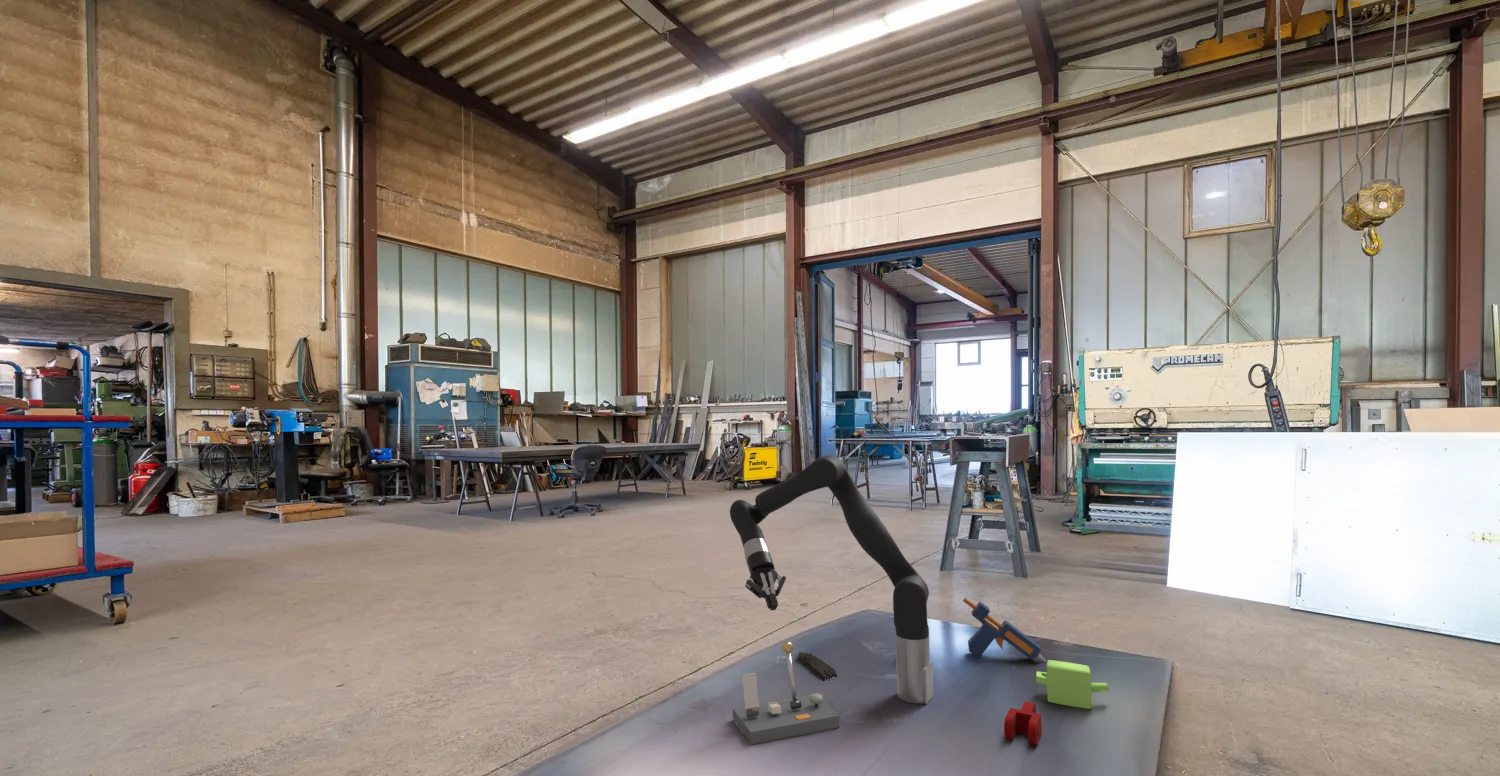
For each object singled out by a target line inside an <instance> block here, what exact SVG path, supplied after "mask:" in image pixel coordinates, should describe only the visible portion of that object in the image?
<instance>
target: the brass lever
mask: <svg viewBox="0 0 1500 776" xmlns="http://www.w3.org/2000/svg"><path fill="white" fill-rule="evenodd" d="M781 649H782V651H783V652H784V653H785V656H786V662H787V669H788V675H789V684H790V691H791V692H790V693H791V698H792V699H793V701H790V707H791V709H798V708H801V701H800V700H797V697H798V695H797V694H798V693H797V688H796V684H795V675H794V668H793V660H792V652H793V650H794V645H793V642H790V641H789V640H786V641H784V642H782V645H781Z"/></svg>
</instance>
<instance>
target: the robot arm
mask: <svg viewBox="0 0 1500 776" xmlns="http://www.w3.org/2000/svg"><path fill="white" fill-rule="evenodd" d="M823 488H828V489H829V490H830V491H831V493H832V494H833V496H834V497H835V498H836V500H837V502H838V503H839V505H840V507H841V510H842V513H843V516H844V519H845V521H846V524H847V526H848V528H849V531H850V533H851V534H852V535H853V537H854V538H855V540H856V541H857V543H858V544H859V546H860V547H861V548H862V550H863V551H864V552H865V553H866V554H867V555H868V556H869V557H870V558H872V560H873V561H875V562H876V563H877V564H878V565H879V566H880V567H881V568H882V569H883V570H884V572H885V574H886V575H887V577H888V578H889V580H890V581H891V583H892V585H893V587H894V589H893V594H892V606H893V607H892V608H893V610H892V611H893V624H894V627H895V629H894V630H895V654H896V655H895V657H896V662H895V663H896V690H897V691H896V693H897V698H898V699H900V700H901V701H903V702H906V703H909V704H925V705H927V704H928V703H929V702H930V701H931V699H933V697H934V681H933V680H934V679H933V678H934V677H933V673H934V672H933V662H932V661H930V660H931V659H930V658H931V655H930V626H929V624H928V605H927V604H928V603H927V602H928V599H929V597H930V592H929V587H928V584H927V583H926V581H925V580H924V579H923V577H922V576H921V575H920V574H919V573H918V571H917V570H916V569H915V568H914V566H912V565H911V563H910V562H909V561H908V560H907V558H906V557H905V556H904V554H903V553H902V551H901V549H900V548H899V545H897V543H896V541H895V540H894V538H893V537H892V535H891V534H890V532H889V530H888V529H887V527H886V526H885V525H884V523H883V522H882V520H881V519H880V517H879V516H878V514H877V513H876V511H875V510H874V509H873V508H872V506H871V505H870V503H869V502H868V501H867V499H866V498H865V496H864V495H863V494H862V493H861V492H860V489H858V487H857V485H856V484H855V482H854V480H853V478H852V477H851V474H850V473H849V471H848V469H847V468H846V466H845V464H844V462H843V461H842V460H841V459H840V458H839V457H837V456H835V455H832V454H827V455H823V456H819V457H818V458H815V460H813V461H812V462H811V463H810V464H809V465H808V466H806V467H804V469H802V470H801V471H800V472H798V473H797V474H795V475H794V476H791V477H790V478H788V479H787V480H784V481H781V482H780V483H778V484H777V483H776V484H775V485H773V486H771V487H769V488H768V489H766V490H763V491H762V492H760V493H759V494H757V495H756V496H755V500H754V502H755V504H751V503H749V502H747V501H746V500H744V499H737V500H735V501H733V502H732V503H731V506H730V509H729V516H730V521H731V522H732V524H733V526H734V528H735V530H736V532H737V534H738V535H739V537H740V540H741V544H742V548H743V553H744V554H743V555H744V558H745V561H746V564H747V568H748V571H749V574H750V576H749V578H748V579H746V582H745V585H744V586H745V588H746V589H748V590H749V591H750V592H751V593H752V594H754V595H755V597H757V598H759V599H761V598H762V599H764V600H765V603H766V607H767V608H768V609H769V610H770V611H776V610H777V608H778V607H779V602H778V599H777V597H778V596H780V592H781V590H782V589H783V586H784V584H785V582H786V580H787V577H786V576H785V575H783V576H782V575H779V573H778V572H777V570H776V568H775V564H774V561H773V558H772V555H771V553H770V552H771V551H770V550H769V547H768V544H767V542H766V539H765V536H764V533H763V530H762V528H761V527H760V526H759V524H760V523H762V521H764V519H766V518H767V517H768V516H769V515H770V514H771V513H774V512H775V511H778V510H780V509H781V508H784V507H785V506H787V505H788V504H790V503H792V502H793V501H795V500H796V499H798V498H799V497H802V496H803V495H805V494H808V493H811V492H813V491H817V490H820V489H823ZM776 581H777V584H778V586H777V587H776V589H775V584H776V583H775V582H776Z"/></svg>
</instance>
